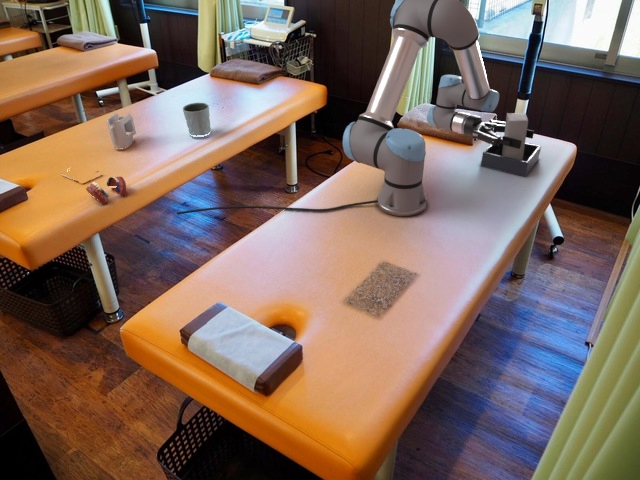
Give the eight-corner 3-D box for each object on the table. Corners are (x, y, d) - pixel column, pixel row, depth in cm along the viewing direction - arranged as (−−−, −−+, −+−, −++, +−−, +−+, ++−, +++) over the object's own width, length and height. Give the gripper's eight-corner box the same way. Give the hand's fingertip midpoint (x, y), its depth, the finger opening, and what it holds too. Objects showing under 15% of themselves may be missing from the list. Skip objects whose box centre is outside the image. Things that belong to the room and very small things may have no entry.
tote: (524, 176, 182) (528, 162, 179) (480, 166, 189) (482, 152, 186) (538, 159, 192) (541, 146, 189) (495, 150, 200) (498, 136, 196)
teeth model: (126, 176, 175) (92, 190, 168) (131, 193, 179) (97, 207, 172) (114, 169, 180) (80, 182, 174) (119, 186, 184) (86, 199, 177)
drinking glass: (217, 133, 219) (213, 105, 212) (200, 142, 212) (196, 113, 205) (199, 128, 224) (195, 100, 217) (182, 137, 217) (177, 108, 210)
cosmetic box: (522, 164, 186) (531, 121, 177) (500, 163, 187) (508, 120, 178) (519, 154, 192) (528, 112, 183) (499, 153, 194) (506, 111, 185)
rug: (343, 302, 130) (343, 299, 130) (383, 262, 143) (383, 259, 143) (378, 317, 126) (378, 314, 125) (416, 274, 139) (416, 271, 138)
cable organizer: (139, 139, 216) (132, 111, 209) (124, 152, 206) (117, 123, 199) (124, 138, 217) (117, 110, 210) (108, 151, 207) (100, 122, 200)
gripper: (480, 124, 204) (537, 139, 192) (451, 144, 190) (511, 161, 178) (483, 105, 199) (542, 119, 187) (453, 124, 186) (515, 140, 173)
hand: (526, 139), depth 183 cm, fingers closed on cosmetic box, 10 cm apart
